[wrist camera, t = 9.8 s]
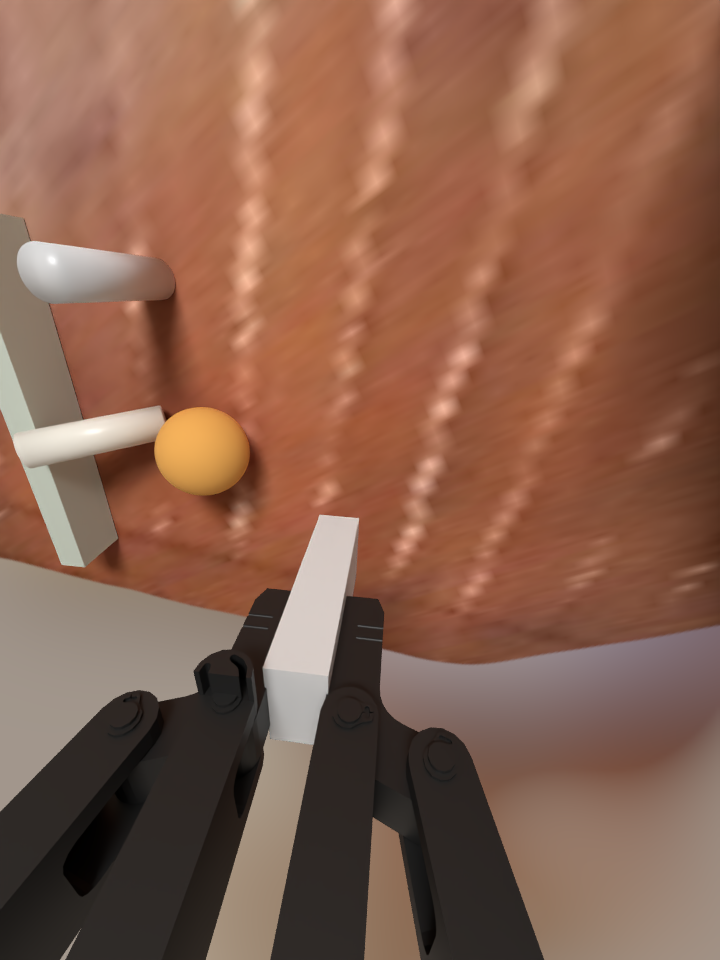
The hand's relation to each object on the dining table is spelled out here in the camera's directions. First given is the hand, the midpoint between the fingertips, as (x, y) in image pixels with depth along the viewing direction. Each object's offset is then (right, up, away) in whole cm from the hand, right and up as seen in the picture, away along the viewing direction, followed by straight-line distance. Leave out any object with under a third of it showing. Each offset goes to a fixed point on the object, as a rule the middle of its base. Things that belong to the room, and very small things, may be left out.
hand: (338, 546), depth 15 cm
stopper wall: (-21, +8, +14) cm, 27 cm away
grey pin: (-12, +15, +9) cm, 22 cm away
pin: (-13, +7, +13) cm, 19 cm away
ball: (-10, +5, +11) cm, 15 cm away
